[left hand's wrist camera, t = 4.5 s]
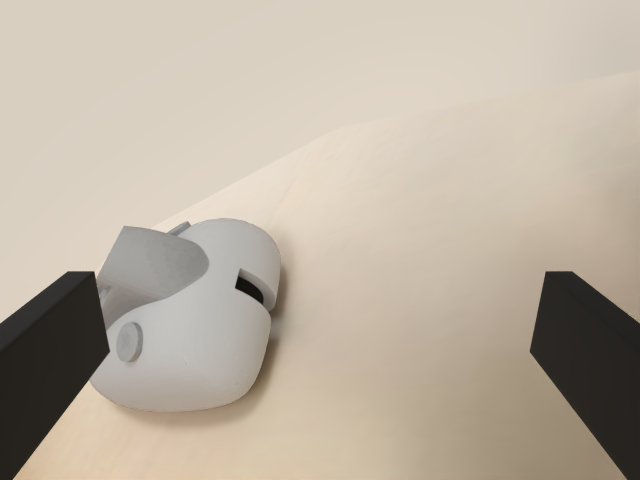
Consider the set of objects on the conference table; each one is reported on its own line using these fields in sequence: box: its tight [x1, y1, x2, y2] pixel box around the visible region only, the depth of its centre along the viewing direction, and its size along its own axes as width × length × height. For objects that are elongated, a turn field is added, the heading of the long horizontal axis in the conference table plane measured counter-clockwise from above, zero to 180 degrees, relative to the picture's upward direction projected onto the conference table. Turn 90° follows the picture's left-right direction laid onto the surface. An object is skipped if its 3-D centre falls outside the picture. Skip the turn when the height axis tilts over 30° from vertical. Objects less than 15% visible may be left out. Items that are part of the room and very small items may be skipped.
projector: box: [89, 218, 281, 412], centre depth 38 cm, size 22×23×15 cm
